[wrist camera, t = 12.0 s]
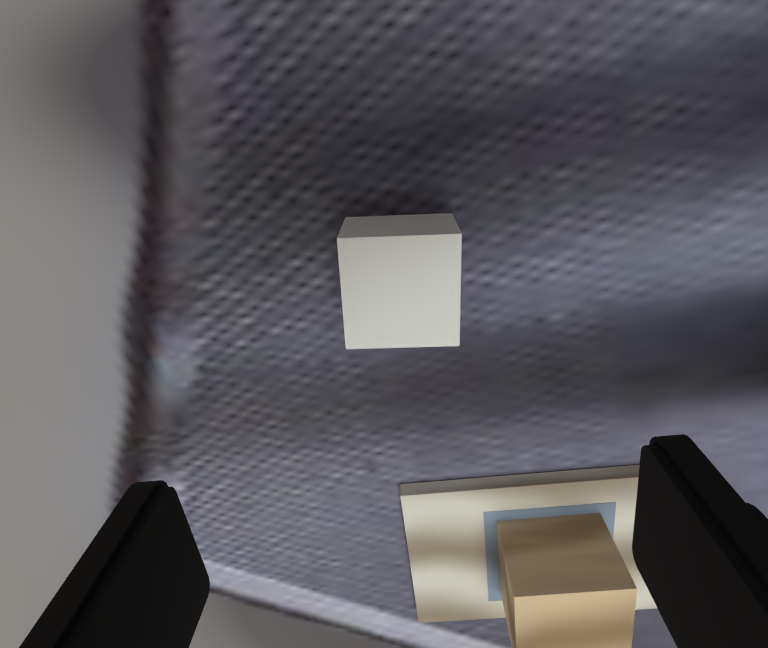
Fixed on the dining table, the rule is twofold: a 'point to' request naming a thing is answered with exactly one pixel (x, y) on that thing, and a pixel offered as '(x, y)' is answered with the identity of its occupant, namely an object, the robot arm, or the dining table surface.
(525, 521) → the oak block
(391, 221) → the grey block
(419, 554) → the board
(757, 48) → the dining table surface
